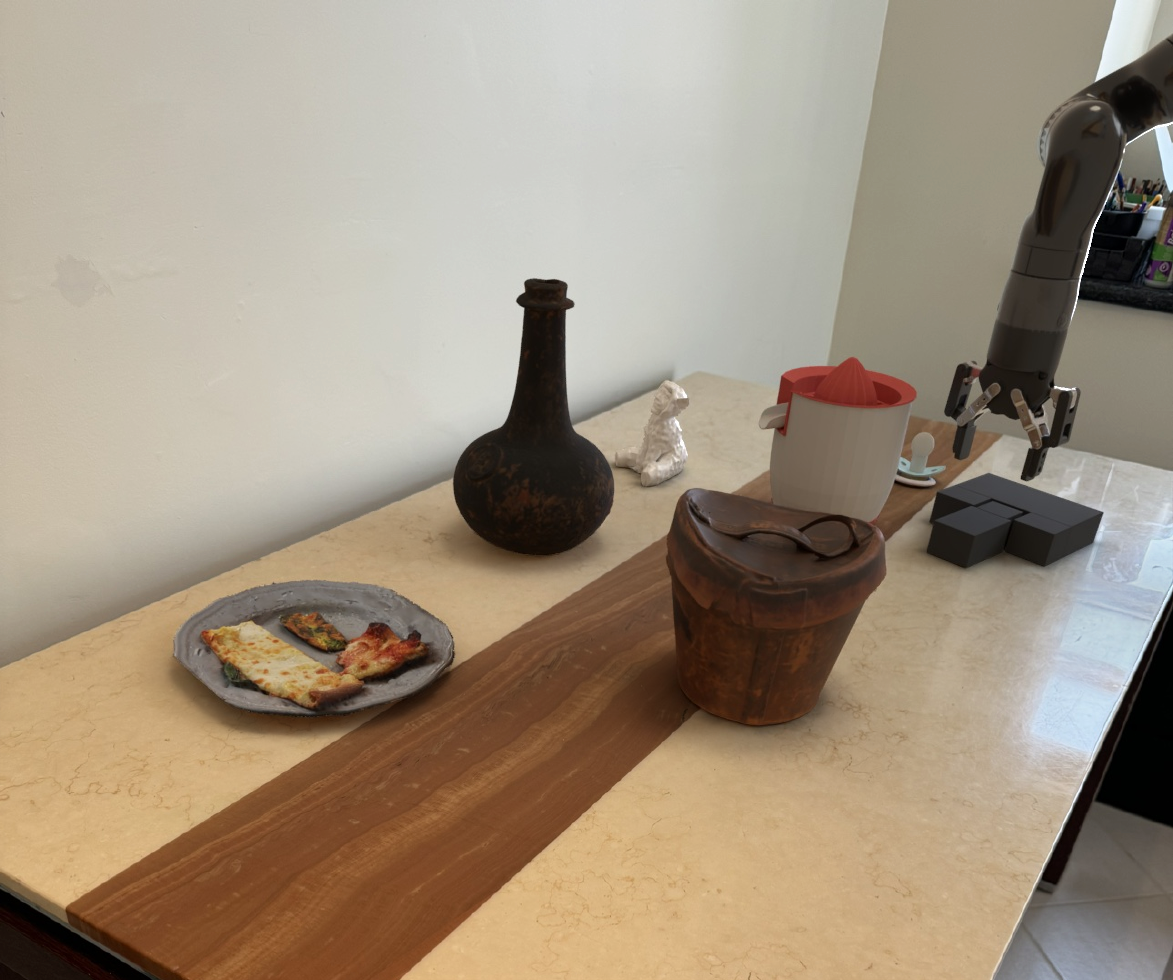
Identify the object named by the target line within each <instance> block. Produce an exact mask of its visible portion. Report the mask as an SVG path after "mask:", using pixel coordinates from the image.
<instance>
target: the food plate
mask: <svg viewBox="0 0 1173 980" xmlns="http://www.w3.org/2000/svg"><path fill="white" fill-rule="evenodd" d="M172 643H173V654H172V657H174V658H175V659H176V660H177V661H178V663H180V664H181V665H182V666H183V667H185V668H186V669H187V671H188V672H190V673H191V675H192V676H194V677H195V678H196V679H197V680H199V682H200V683H201V684H204V685H205V687H206V688H208V690H210V691H211V692H213V693H214V694H215V695H216V696H217V697H218V698H219V699H220V700H221V701H223V702H225V703H226V704H229V705H231V706H233V707H235V708H236V709H239V710H244V711H245V712H249V713H253V714H259V715H267V716H270V715H273V716H282V717H285V716H287V717H294V718H297V717H299V718H304V719H305V718H308V719H310V718H314V719H315V718H316V719H317V718H321V717H326V716H327V717H329V716H332V717H333V716H335V717H336V716H337V717H341V716H343V717H344V716H348V715H350V714H355V713H358V712H361V711H366V710H370V709H373V708H377V707H379V706H384V705H386V704H390V703H393V702H396V701H398V700H403V699H408V698H410V699H411V698H413V697H414V695H417V694H418V693H419V694H420V693H422V691H424V690H426V689H428V688H429V687H430V686H431V685H432V684H434V683H435V682H436V681H437V679H438V678H439V677H440V675H441V674H442V673H443V672H445V670H446V669H448V668H449V667H451V666H452V665H453V663H454V660H455V658H456V651H455V641H454V636H453V634H452V632H451V631H450V628H449V626H448V625H447V623H445V622H444V621H443V620H442V619H440V618H438V617H436V616H435V615H434V614H432V613H430V612H429V611H428V610H426V609H424V608H423V607H421V606H420V605H419V604H417V603H415V602H414V601H412V600H410V598H407V597H406V596H405V595H404V596H403V595H402V594H399V593H398V592H397V591H395V590H393V588H388V587H387V588H386V587H384V586H380V585H377V584H372V583H361V582H358V581H351V582H347V581H332V580H327V579H324V580H322V579H321V580H320V579H313V580H311V579H302V580H290V581H286V582H285V581H284V582H275V581H273V582H271V583H270V584H263V585H262V586H261V585H257V586H254V587H250V588H247V589H245V590H241V591H239V592H237V593H234V594H230V595H229V594H227V595H226V596H224V597H218V598H216V599H215V600H213V601H212V602H210V603H209V604H208V605H206V606H205V607H203V608H202V609H200V610H199V611H197V612H195V613H194V612H193V614H191V616H190V617H188V619H185V620H184V622H183V623H182V624H181V625H180V626H179V628H178V629H177V630H176V632H175V634H174V637H173V640H172Z"/></svg>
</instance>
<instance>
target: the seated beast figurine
mask: <svg viewBox="0 0 1173 980" xmlns="http://www.w3.org/2000/svg"><path fill="white" fill-rule="evenodd" d="M687 395H688V394H687V393H685V390H684V387H682V386H679V385H678V384H676V383H675V382H674V381H670V380H668V379H666V380H663V382H662V383H661V384H660V385H659V387H658V388H657V392H656V393H654V398H653V402H652V407H651V408H650V413H651V414H650V416H649V418H648V419H647V420H648V422H647V423H646V424H645V425H644V427H643V436H644V437H643V439H642V440H643V442H642V444H641V446H636V447H634V446H629V447H624V448H623V449H619V450H617V451H615V453H614V463H615V466H616V467H619V468H629V469H630V470H633V471H635V473H636V472H637V474H640V482H641V484H642V486H645V487H652V486H659V484H661V483H663V482H665V481H667V480H669V479H671V478H672V477H674V476H676V475H677V476H678V474H679V473H681V471H682V470H684V466H685V464H686V463H687V462H688V458H689V454H688V452H687V447H686V445H685V442H684V440H683V436H682V428H681V425H680V422H679V420H678V419H676V417H678V416H679V415H680V414H681V413H682V411H684V410H686V408H687V407H689V406H690V398H689V397H687Z"/></svg>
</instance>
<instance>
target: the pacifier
mask: <svg viewBox="0 0 1173 980" xmlns="http://www.w3.org/2000/svg"><path fill="white" fill-rule="evenodd" d="M934 448H935V439H934V437H933V435H932V434H931V433H929V432H927V431H923V432H919V433H918V434H916V435H915V436H914V437H913V439H912V441H911V444H910V450H911V452H912V454H911V459H910V461H909V460H908V459H906V458H904V457H902V456H901V457H900V462H899V466H898V470H897V473H896V477H895V480H894V481H896V482H899V483H902V484H905V485H910V486H916V487H932V486H935V485H936V480H935V479H934V478H933V477H932V476H935V475H938V474H940V473H942V472H944V471H945V470H946V468H947V466H946V465H936V466H928V467H927V463H928V460H929V459H928V458H929V456H930V455H931V453H932V452H933V450H934Z"/></svg>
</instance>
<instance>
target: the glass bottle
mask: <svg viewBox="0 0 1173 980" xmlns="http://www.w3.org/2000/svg"><path fill="white" fill-rule="evenodd" d="M523 286H524V292H522V293H520V294H519V295H518V296H517V297H516V300H515V302H516V304H517V305H518V306H519V307H521V308H523V316H522V317H523V318H522V331H521V332H522V333H521V339H520V340H521V342H520V352H519V360H518V369H517V374H516V381H515V387H514V392H513V397H512V401H511V405H510V407H509V411H508V415H507V417H506V419H505V421H504V422H503V424H502V425H501V426H499V427H498V428H495V429H493V430H490V431H487V432H486V433H484V434H482V435H480V436H479V437H476V438H475V439H474V440H473V441H471V443H469V444H468V445H467V447H466V448H465V449H464V450H463V451H462V453H461V454H460V456H459V458H458V460H457V463H456V465H455V468H454V472H453V477H452V489H453V496H454V501H455V504H456V507H457V509H458V511H459V515H460V516H461V517H462V518H463V520H464V521H465V523H466V524H467V525H468V526H469V527H470V529H471V530H472V531H473V532H474V534H476V535H477V536H479V537H480V538H481V539H482V540H484V541H485V542H487V543H488V544H491V545H493V546H495V547H498V548H499V549H502V550H505V551H507V552H512V553H515V554H519V555H525V556H535V557H545V556H546V557H548V556H553V555H559V554H563V553H565V552H569V551H571V550H573V549H574V548H576V547H578V546H580V545H582V544H583V543H584V542H586V540H588V539H590V538H591V537H592V536H593V535H594V534H595V533H596V532H597V531H598V530H599V528H600V527H601V526H602V525H603V523H604V521H605V520H606V519H607V517H608V515H610V514H611V511H612V507H613V505H614V501H615V500H614V497H615V479H614V473H613V470H612V467H611V465H610V463H609V461H608V459H607V458H606V455H604V453H603V452H602V451H601V449H599V447H597V445H595V443H593V442H592V441H590V440H589V439H587V438H586V437H584V436H583V435H581V434H579V433H578V432H577V431H575V429H574V427H573V424H572V420H571V415H570V409H569V400H568V399H569V398H568V388H567V387H568V386H567V349H566V348H567V347H566V346H567V343H566V339H567V337H566V334H567V332H566V330H567V329H566V326H567V325H566V324H567V323H566V322H567V320H566V319H567V310H571V309H573V308H575V305H576V304H575V303H576V302H575V301H574V300H572V299H571V298H569V297H567V296H568V295H567V294H568V288H569V285H568V283H567V282H566V281H564V280H560V279H557V278H549V279H545V278H535V277H532V278H528V279H525V280H524V281H523Z"/></svg>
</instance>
